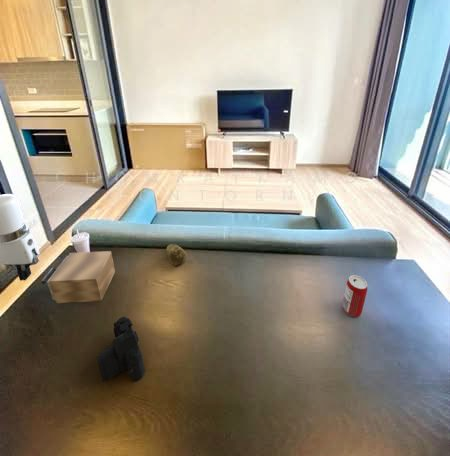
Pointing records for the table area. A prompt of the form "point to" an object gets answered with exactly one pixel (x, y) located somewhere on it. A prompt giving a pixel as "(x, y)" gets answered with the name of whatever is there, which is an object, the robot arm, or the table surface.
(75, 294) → the brown wooden box
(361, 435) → the table surface
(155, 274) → the table surface
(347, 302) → the soda can
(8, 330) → the table surface
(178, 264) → the potato
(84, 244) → the smoothie
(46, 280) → the drawer
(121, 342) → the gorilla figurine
